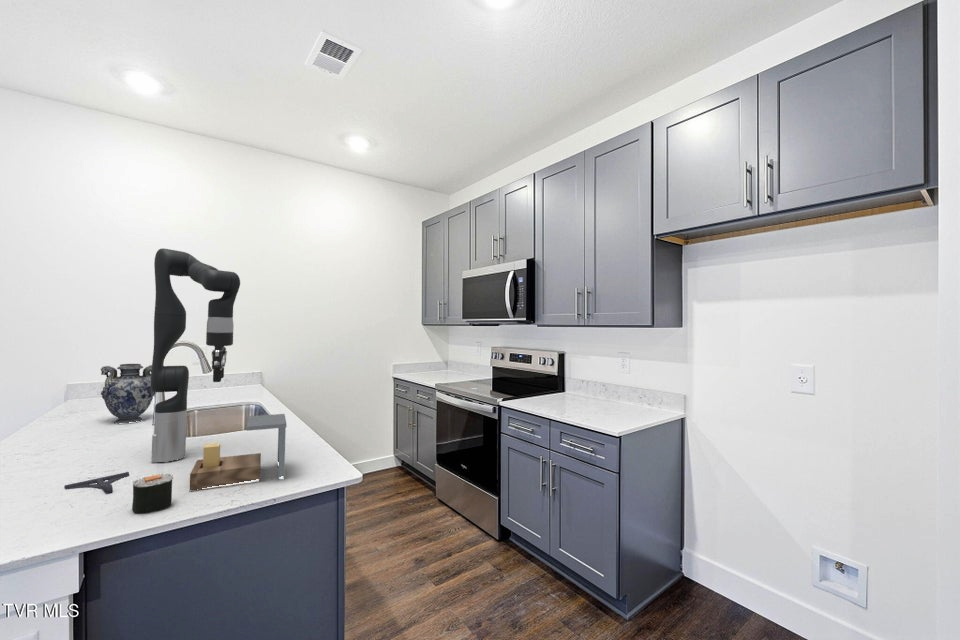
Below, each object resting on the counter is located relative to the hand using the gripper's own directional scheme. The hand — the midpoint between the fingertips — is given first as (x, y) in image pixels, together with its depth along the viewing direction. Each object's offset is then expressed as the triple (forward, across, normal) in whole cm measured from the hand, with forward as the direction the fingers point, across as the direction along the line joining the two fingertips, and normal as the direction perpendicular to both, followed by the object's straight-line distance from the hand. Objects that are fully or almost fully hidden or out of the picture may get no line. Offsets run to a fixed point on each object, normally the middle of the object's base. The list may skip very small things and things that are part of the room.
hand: (218, 380), depth 136 cm
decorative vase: (+33, +96, +45) cm, 111 cm away
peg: (+29, -9, 0) cm, 30 cm away
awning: (+30, -9, -14) cm, 34 cm away
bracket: (+31, -2, +28) cm, 42 cm away
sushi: (+30, -24, +12) cm, 40 cm away
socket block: (+30, -9, -4) cm, 32 cm away
